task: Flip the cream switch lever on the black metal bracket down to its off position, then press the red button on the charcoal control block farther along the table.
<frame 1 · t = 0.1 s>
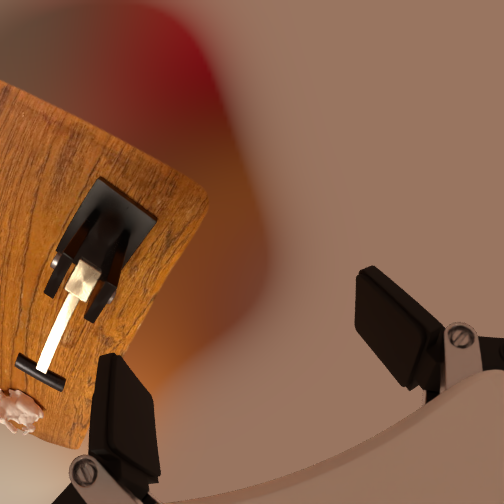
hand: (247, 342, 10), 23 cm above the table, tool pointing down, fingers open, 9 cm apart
lever: (59, 325, 19), point 12 cm above the table, hinge at 25.0°
switch bracket: (104, 232, 29), on the table
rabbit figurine: (19, 393, 35), on the table
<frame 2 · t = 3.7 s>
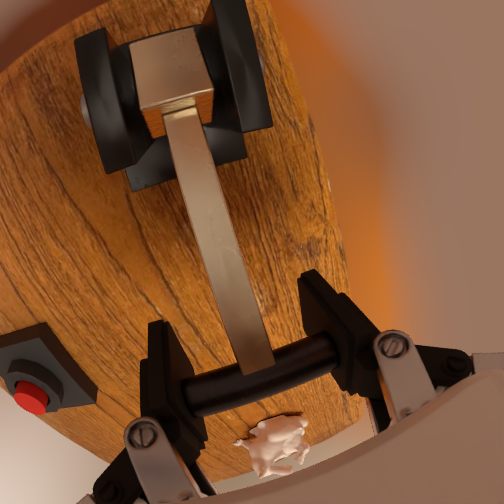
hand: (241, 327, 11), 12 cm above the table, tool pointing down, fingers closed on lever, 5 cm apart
control block: (40, 366, 22), on the table
lever: (208, 214, 8), point 12 cm above the table, hinge at 25.0°, touching gripper
switch bracket: (170, 102, 16), on the table
button: (31, 397, 18), point 4 cm above the table, slide at 0.1 cm
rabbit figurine: (263, 424, 36), on the table
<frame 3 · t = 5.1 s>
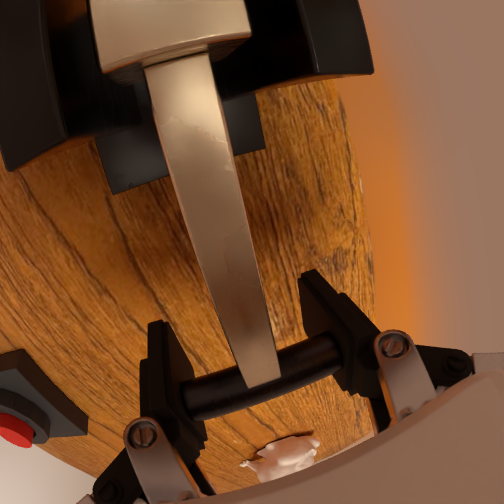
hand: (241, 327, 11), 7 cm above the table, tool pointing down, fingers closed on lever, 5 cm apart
control block: (23, 393, 17), on the table
lever: (217, 228, 6), point 10 cm above the table, hinge at -1.7°, touching gripper
switch bracket: (164, 76, 12), on the table
button: (15, 430, 14), point 4 cm above the table, slide at 0.1 cm
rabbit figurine: (272, 445, 32), on the table
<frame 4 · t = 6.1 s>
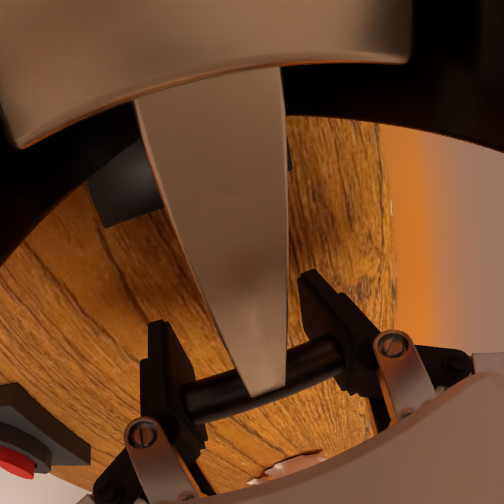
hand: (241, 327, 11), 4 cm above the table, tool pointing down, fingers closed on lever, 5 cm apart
control block: (21, 422, 15), on the table
lever: (242, 290, 4), point 8 cm above the table, hinge at -19.3°, touching gripper
switch bracket: (165, 77, 9), on the table
button: (15, 462, 11), point 4 cm above the table, slide at 0.1 cm
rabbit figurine: (280, 463, 30), on the table
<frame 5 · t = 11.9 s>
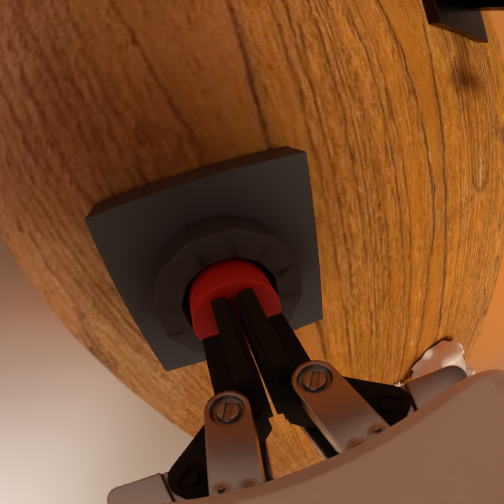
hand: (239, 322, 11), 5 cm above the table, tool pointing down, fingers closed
control block: (216, 259, 16), on the table
button: (233, 306, 12), point 4 cm above the table, slide at -0.1 cm, touching gripper
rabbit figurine: (424, 356, 30), on the table
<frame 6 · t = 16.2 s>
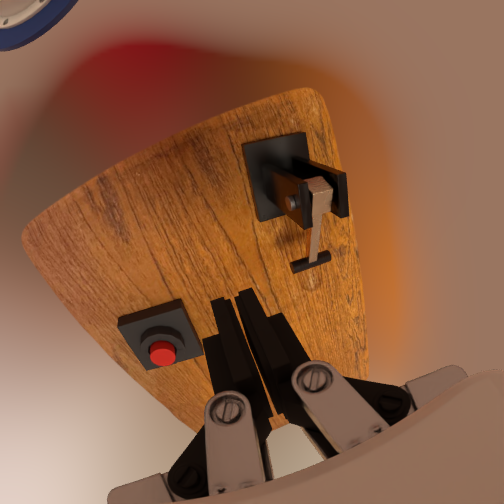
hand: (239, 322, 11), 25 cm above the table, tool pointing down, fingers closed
control block: (161, 332, 41), on the table
lever: (313, 230, 30), point 8 cm above the table, hinge at -19.9°
switch bracket: (279, 175, 35), on the table
button: (162, 353, 37), point 4 cm above the table, slide at 0.1 cm
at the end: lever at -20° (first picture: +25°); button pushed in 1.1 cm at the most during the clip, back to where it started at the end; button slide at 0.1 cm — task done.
